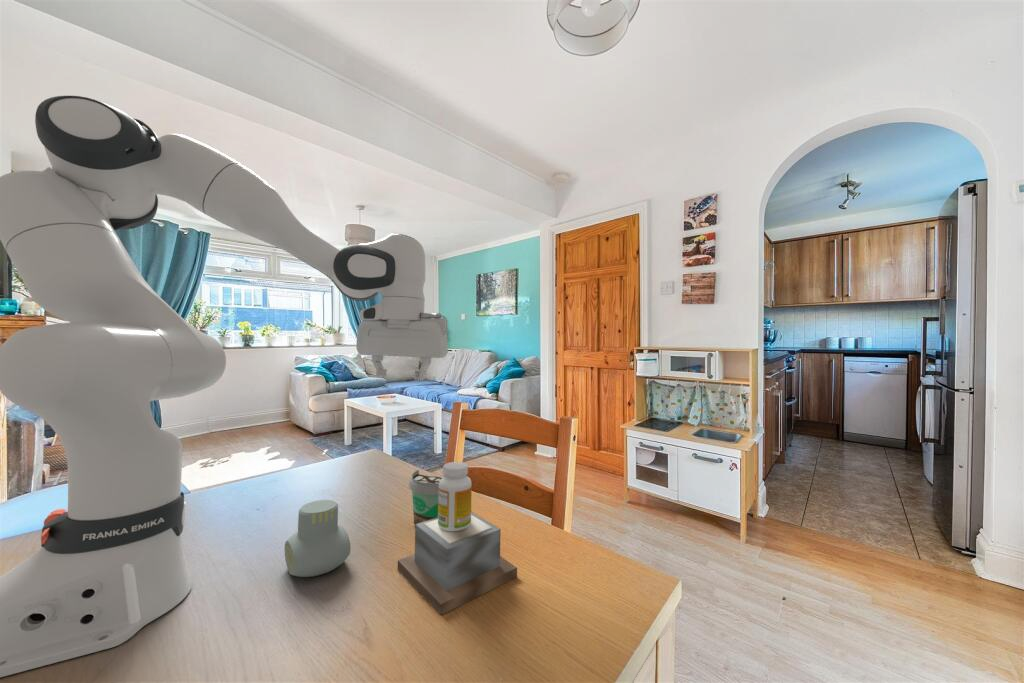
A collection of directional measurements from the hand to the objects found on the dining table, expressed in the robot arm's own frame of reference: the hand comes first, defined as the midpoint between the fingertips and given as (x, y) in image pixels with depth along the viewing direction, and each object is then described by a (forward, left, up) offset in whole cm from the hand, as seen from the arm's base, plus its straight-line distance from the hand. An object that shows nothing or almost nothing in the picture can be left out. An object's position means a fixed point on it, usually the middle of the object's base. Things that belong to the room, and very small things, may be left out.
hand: (400, 378), depth 80 cm
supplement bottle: (0, -23, -23) cm, 32 cm away
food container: (+4, -6, -30) cm, 31 cm away
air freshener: (-17, -7, -30) cm, 36 cm away
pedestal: (0, -23, -30) cm, 38 cm away
